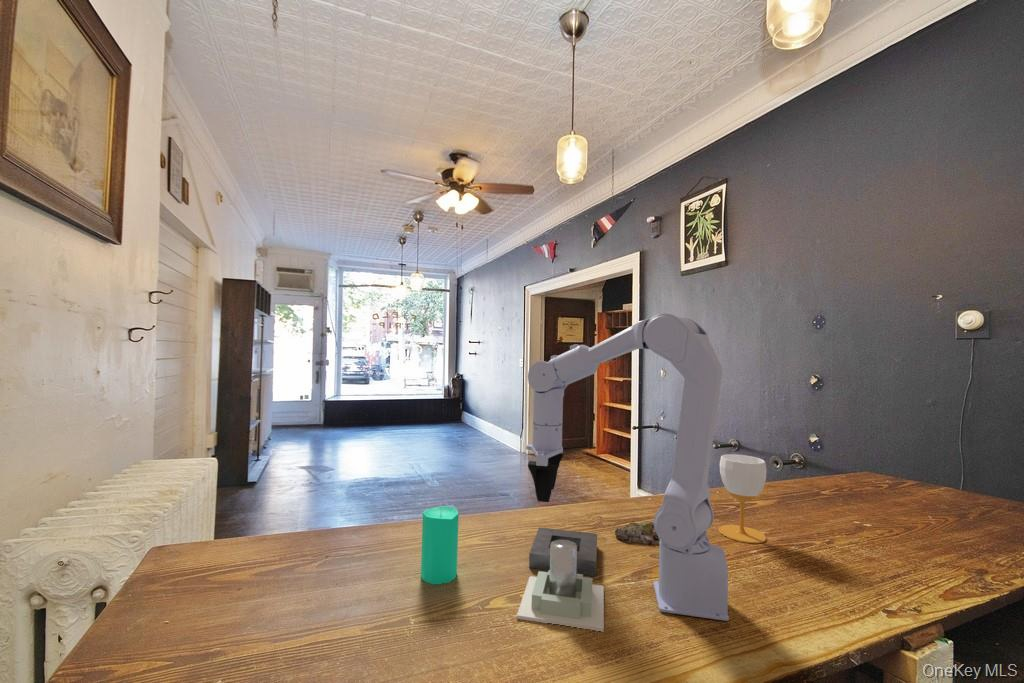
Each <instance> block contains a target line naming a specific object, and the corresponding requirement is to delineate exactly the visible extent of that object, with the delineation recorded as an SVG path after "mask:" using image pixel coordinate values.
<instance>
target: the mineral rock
mask: <svg viewBox="0 0 1024 683" xmlns="http://www.w3.org/2000/svg"><path fill="white" fill-rule="evenodd" d="M614 532H615V533H614V534H615V538H616V540H620V539H621V540H620V541H623V542H625V541H627V542H626V543H633V542H634V543H638V542H641V543H640V544H644V545H650V546H652V545H653V546H654V545H656V544H659V540H660V538H659V537H658V535H657V533H656V531H655V528H654V521H653V522H649V521H647V520H644V521H643V522H634V521H631V522H629V524H627V525H626V524H625V525H624V526H622V527H619V526H618V527H616V528H615V530H614Z"/></svg>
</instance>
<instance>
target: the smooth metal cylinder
mask: <svg viewBox="0 0 1024 683" xmlns="http://www.w3.org/2000/svg"><path fill="white" fill-rule="evenodd" d="M576 569H577V545H576V544H575V543H574V542H572V541H569V540H555V541H552V542H551V544H550V585H549V594H550V595H557V596H564V597H571V598H576Z"/></svg>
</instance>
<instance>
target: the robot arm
mask: <svg viewBox="0 0 1024 683" xmlns="http://www.w3.org/2000/svg"><path fill="white" fill-rule="evenodd" d="M639 349H641V350H650V351H651V352H653V353H654V354H656V355H658V356H659V357H661V358H663V359H664V360H667V361H668V362H670V364H672V366H673V367H674V368H675V369H676V370H677V371H678V372H679V373H680V375H682V377H683V378H684V382H683V388H682V395H681V402H680V403H681V404H680V411H679V417H678V426H677V434H676V440H675V441H676V442H675V449H674V454H673V455H674V456H673V464H672V469H671V477H670V480H669V483H668V485H667V487H666V489H665V492H664V493H663V498H662V503H661V506H660V507H659V508H658V509H657V511H656V513H655V514H654V518H653V523H654V528H655V531H656V533H657V535H658V537H659V538H660V540H659V543H658V549H659V550H658V551H659V552H658V554H659V556H658V557H659V558H658V560H659V561H658V581H657V580H655V581H653V589H654V592H655V597H656V601H657V606H658V610H659V611H660V612H662V613H667V614H675V615H681V616H683V615H684V616H688V617H689V616H690V617H698V618H704V619H710V620H718V621H725V622H728V621H729V620H730V617H729V615H728V612H729V611H728V607H729V603H728V600H729V598H728V597H729V595H728V594H729V593H728V592H729V591H728V590H729V572H728V562H727V557H726V554H725V550H724V549H723V547H722V546H720V545H716V544H711V542H710V539H709V537H708V535H707V531H708V529H710V528H711V527H712V525H713V522H714V519H715V518H714V517H715V516H714V510H713V508H712V505H711V491H712V490H711V488H710V486H709V485H708V481H709V480H708V479H709V472H710V465H711V459H712V451H713V443H714V435H715V430H716V429H715V428H716V422H717V415H718V414H717V413H718V407H719V400H720V394H721V385H722V378H723V367H722V364H721V362H720V360H719V358H718V356H717V354H716V352H715V350H714V348H713V345H712V343H711V342H710V338H709V334H708V332H707V331H706V330H705V329H704V328H703V327H702V326H700V324H698V323H697V322H696V321H695V320H693V319H691V318H688V317H679V316H676V315H674V314H671V313H668V312H667V313H665V312H663V313H659V314H656V315H654V316H652V317H651V318H646V319H643V320H640V321H638V322H637V323H634V324H633V325H631V326H629V327H627V328H626V329H624V330H622V331H619V332H618V333H616V334H614V335H612V336H610V337H609V338H607V339H605V340H603V341H600V342H599V343H597V344H595V345H593V346H591V347H590V346H588V345H586V344H573V345H569V350H567V351H565V352H563V353H561V354H559V355H557V354H554V355H551V356H550V360H548V361H545V360H537V361H536V362H535V363H533V364H532V365H531V366H530V368H529V369H528V372H527V382H528V384H529V386H530V388H531V389H533V394H532V396H533V398H532V402H533V403H532V404H533V405H532V443H531V444H529V443H528V444H526V446H525V449H526V450H529V451H531V452H532V453H533V454H534V455H535V461H534V460H529V461H528V462H527V467H528V468H527V469H528V470H529V472H530V474H531V477H532V480H533V484H534V489H535V495H536V500H537V502H542V503H549V502H550V499H551V496H552V490H554V489H555V485H556V481H557V477H558V476H557V474H558V470H559V468H560V463H561V461H562V459H563V458H564V453H565V452H564V448H563V414H564V412H563V411H564V408H563V407H564V406H563V405H564V397H565V390H566V388H567V387H568V386H569V385H570V384H573V383H575V382H577V381H580V380H582V379H584V378H586V377H587V378H588V377H590V376H592V375H594V374H595V373H596V372H597V370H598V369H599V368H598V367H599V365H600V364H602V363H604V362H607V361H610V360H613V359H615V358H618V357H620V356H623V355H625V354H628V353H631V352H634V351H636V350H639Z"/></svg>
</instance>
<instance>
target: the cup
mask: <svg viewBox="0 0 1024 683" xmlns="http://www.w3.org/2000/svg"><path fill="white" fill-rule="evenodd" d="M719 473H720V477H721V481H722V484H723V485H724V489H725V490H726V491H727V492H728V494H729V495H731V497H733V498H734V499H736V500H737V501H739V525H738V524H724V525H721V526H720V527H718V531H719V533H720V534H721V535H722V534H723V535H722V536H724V537H725V536H726V538H727V537H728V538H727V539H729V540H732V541H737V542H740V543H746V544H762V543H765V542H766V541H767V539H768V538H767V537H766V535H765V534H764V533H762V532H761V531H759V530H757V529H754V528H752V527H748V526H745V503H746V502H747V501H752V500H754V499H755V498H756V497H759V495H760V494H761V493H762V490H763V489H764V487H765V483H766V480H767V464H766V461H765V460H764V459H762V458H760V457H755V456H751V455H745V454H737V453H735V454H733V453H731V454H730V453H729V454H723V455H721V456H720V460H719Z"/></svg>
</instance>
